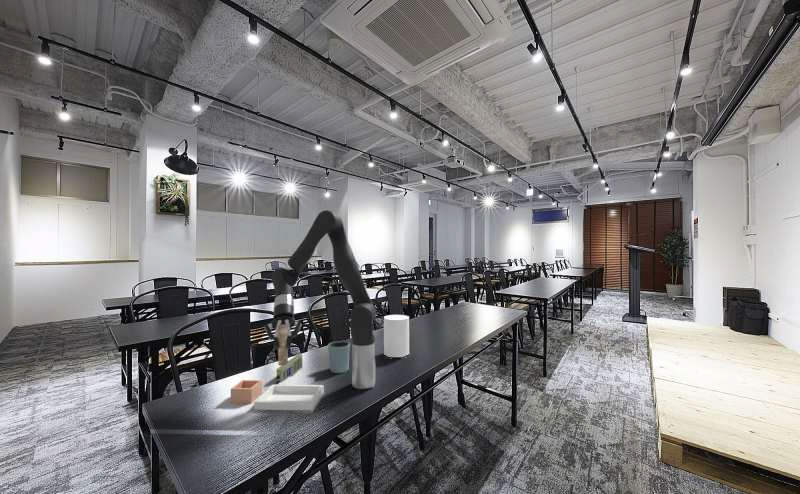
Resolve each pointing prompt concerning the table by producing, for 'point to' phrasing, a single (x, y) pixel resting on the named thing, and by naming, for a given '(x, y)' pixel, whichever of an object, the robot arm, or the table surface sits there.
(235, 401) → the pot
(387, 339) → the canister
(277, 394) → the tray
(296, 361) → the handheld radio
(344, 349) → the teal cup
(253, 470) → the table surface
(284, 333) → the dowel pin
